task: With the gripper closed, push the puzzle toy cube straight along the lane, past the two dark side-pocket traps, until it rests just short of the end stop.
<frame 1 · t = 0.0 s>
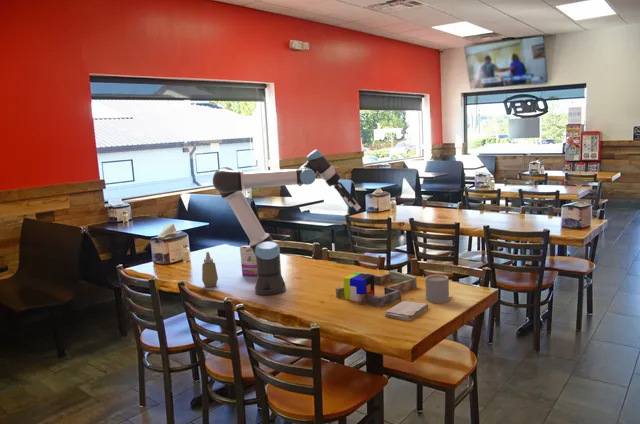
hand: (355, 207, 275), 36 cm above the table, tool tilted 35°, fingers open, 13 cm apart
coffee mug: (438, 298, 235), on the table
squeeze bottle: (210, 286, 275), on the table
washcloth: (406, 314, 220), on the table
puzzle toy: (359, 297, 243), on the table
candy bar box: (253, 275, 291), on the table
trap lane: (377, 291, 249), on the table
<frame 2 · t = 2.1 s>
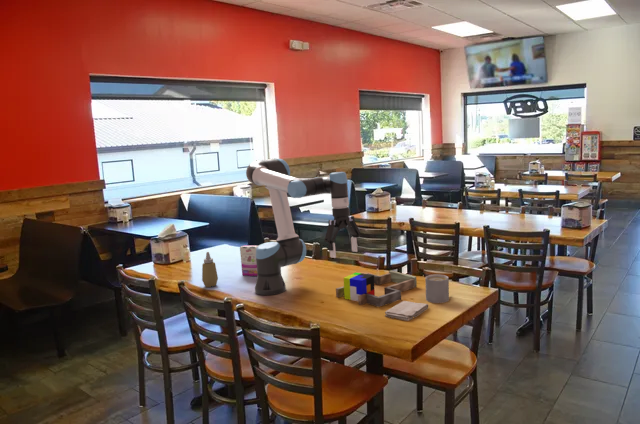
hand: (344, 254, 235), 21 cm above the table, tool pointing down, fingers open, 13 cm apart
nothing on the table moved.
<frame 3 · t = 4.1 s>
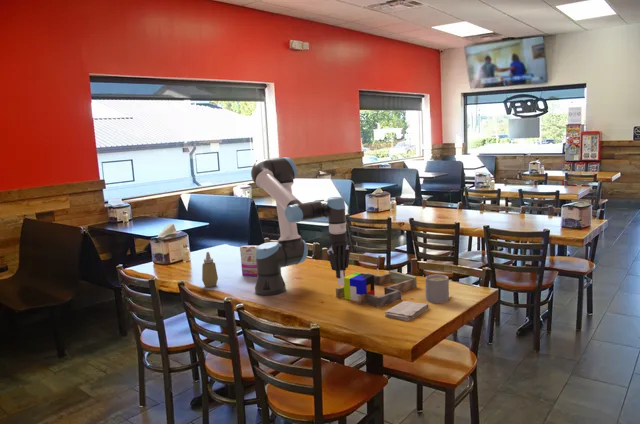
hand: (341, 284, 234), 9 cm above the table, tool pointing down, fingers closed
nothing on the table moved.
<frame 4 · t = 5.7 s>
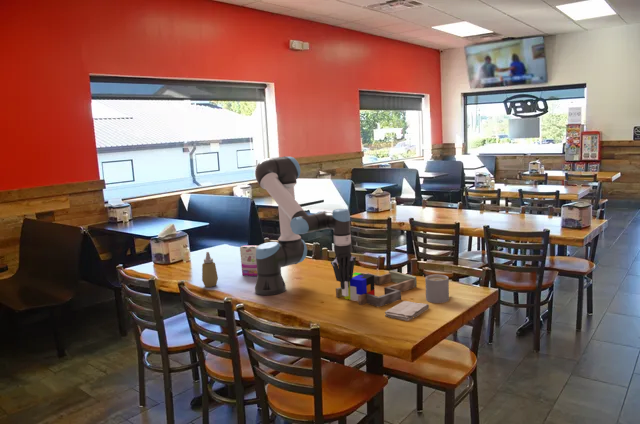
hand: (345, 295, 237), 3 cm above the table, tool pointing down, fingers closed
puzzle toy: (359, 297, 243), on the table, touching gripper
everything else where it was.
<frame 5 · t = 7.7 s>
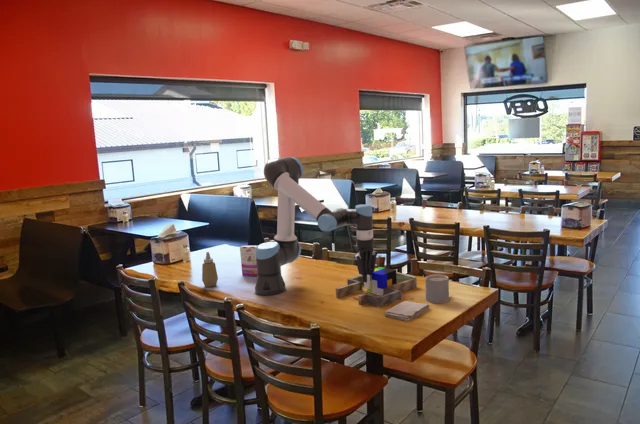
hand: (367, 288, 245), 3 cm above the table, tool pointing down, fingers closed
puzzle toy: (381, 291, 250), on the table, touching gripper
everything else where it was.
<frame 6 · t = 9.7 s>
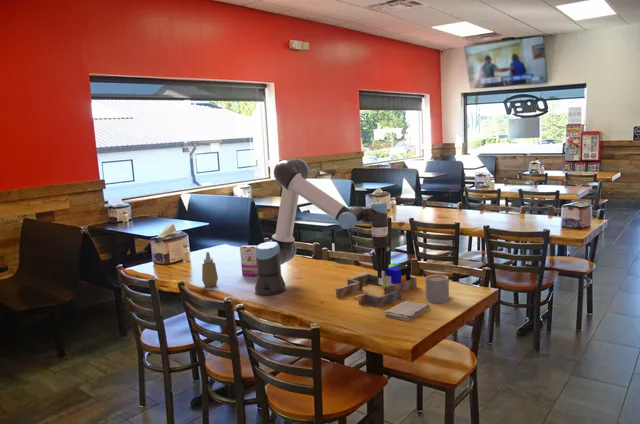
hand: (381, 284, 250), 3 cm above the table, tool pointing down, fingers closed
puzzle toy: (395, 287, 255), on the table, touching gripper, trap lane
everything else where it was.
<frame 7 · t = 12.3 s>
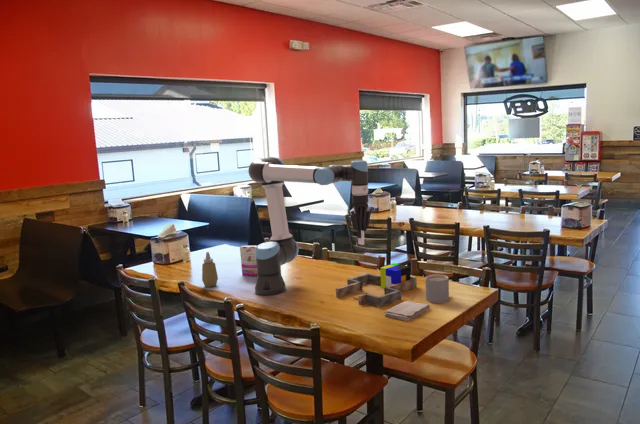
hand: (361, 244, 247), 23 cm above the table, tool pointing down, fingers closed
puzzle toy: (395, 287, 255), on the table
everything else where it was.
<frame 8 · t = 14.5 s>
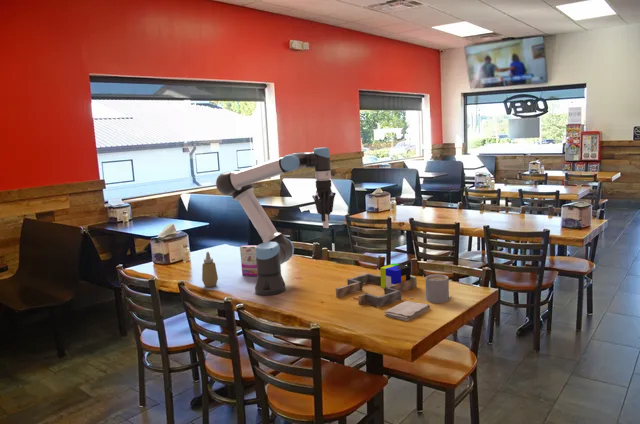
hand: (325, 227, 259), 29 cm above the table, tool pointing down, fingers closed
nothing on the table moved.
at the end: puzzle toy inside the target area on the trap lane (1.7 cm from its centre), point 0.0 cm above the trap lane's base; puzzle toy tilted 0° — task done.
